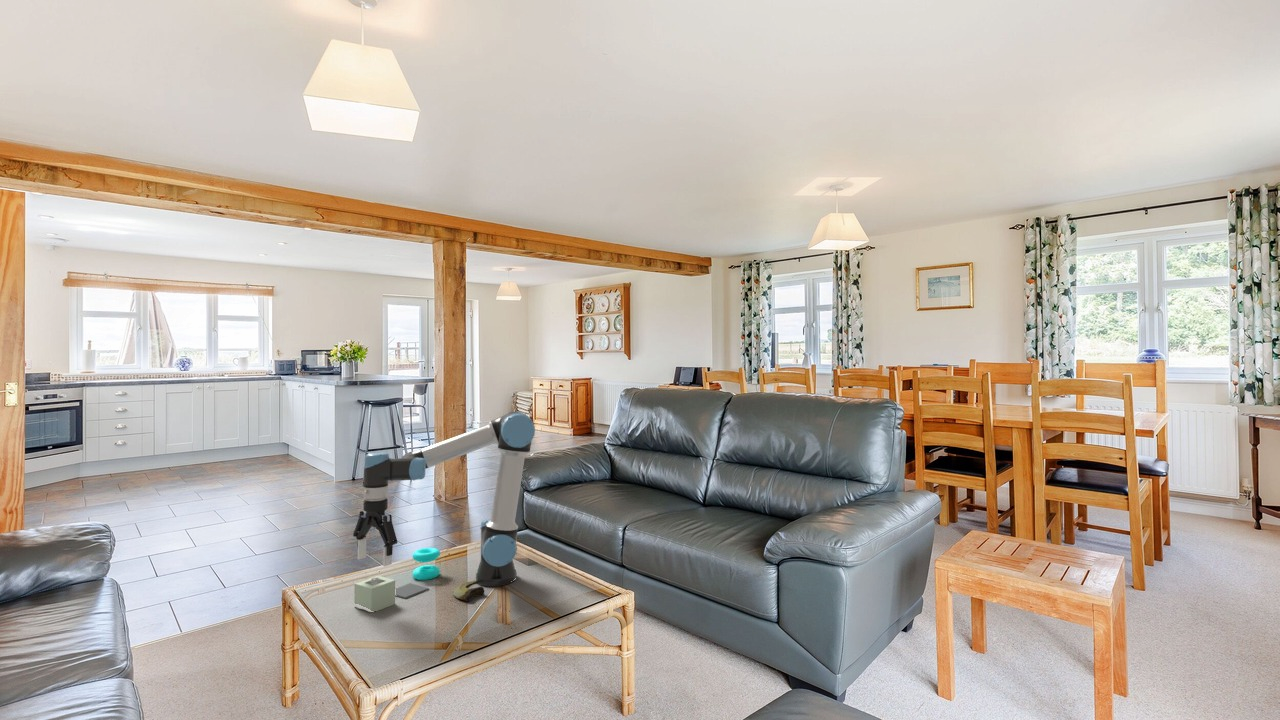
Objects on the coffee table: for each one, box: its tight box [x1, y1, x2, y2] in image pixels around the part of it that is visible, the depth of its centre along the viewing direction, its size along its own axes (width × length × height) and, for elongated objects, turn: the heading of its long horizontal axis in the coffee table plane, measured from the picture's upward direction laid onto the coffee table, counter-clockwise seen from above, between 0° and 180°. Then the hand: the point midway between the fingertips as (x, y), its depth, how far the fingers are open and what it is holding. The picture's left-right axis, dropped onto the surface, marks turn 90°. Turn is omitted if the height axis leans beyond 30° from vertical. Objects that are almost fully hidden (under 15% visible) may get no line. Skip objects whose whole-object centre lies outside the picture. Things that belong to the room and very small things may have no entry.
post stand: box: [371, 577, 379, 586], centre depth 198 cm, size 4×4×9 cm
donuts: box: [412, 547, 441, 581], centre depth 226 cm, size 10×10×10 cm
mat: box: [395, 582, 430, 600], centre depth 210 cm, size 10×10×1 cm
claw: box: [452, 580, 485, 602], centre depth 210 cm, size 20×10×3 cm, turn 22°
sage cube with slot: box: [353, 575, 396, 612], centre depth 198 cm, size 9×9×8 cm
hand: (374, 561), depth 198 cm, fingers open, 13 cm apart
